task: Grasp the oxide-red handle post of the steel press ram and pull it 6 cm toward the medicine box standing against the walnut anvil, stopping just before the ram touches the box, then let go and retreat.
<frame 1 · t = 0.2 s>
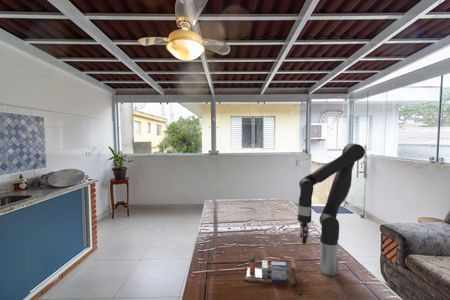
hand: (303, 240, 140), 17 cm above the table, tool pointing down, fingers open, 8 cm apart
medicine box: (278, 278, 133), on the table
press frame: (292, 278, 132), on the table
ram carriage: (257, 266, 135), point 5 cm above the table, slide at 0.0 cm
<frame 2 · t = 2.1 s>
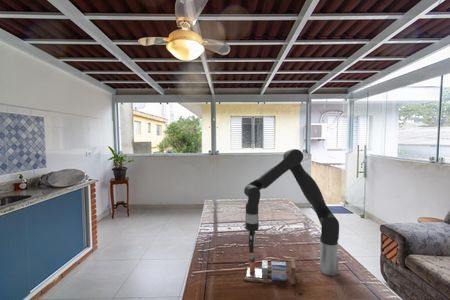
hand: (251, 249, 136), 15 cm above the table, tool pointing down, fingers open, 8 cm apart
nothing on the table moved.
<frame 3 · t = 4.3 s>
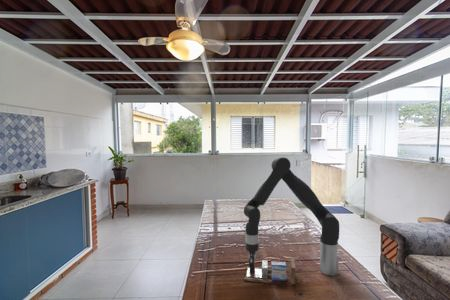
hand: (252, 270, 136), 2 cm above the table, tool pointing down, fingers closed on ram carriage, 3 cm apart
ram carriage: (257, 266, 135), point 5 cm above the table, slide at 0.0 cm, touching gripper
everything else where it was.
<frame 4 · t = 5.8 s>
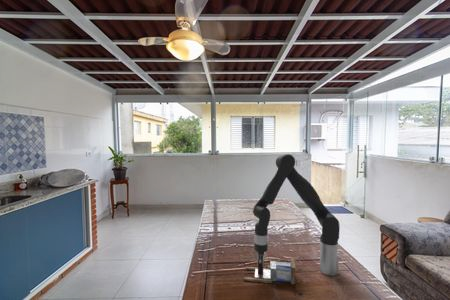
hand: (260, 271, 135), 2 cm above the table, tool pointing down, fingers closed on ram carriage, 3 cm apart
medicine box: (283, 279, 132), on the table, touching press frame, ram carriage
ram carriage: (265, 267, 135), point 5 cm above the table, slide at 4.6 cm, touching gripper, medicine box
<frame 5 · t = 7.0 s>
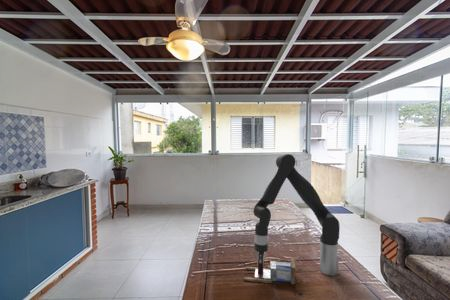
hand: (260, 271, 135), 2 cm above the table, tool pointing down, fingers closed on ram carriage, 3 cm apart
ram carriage: (265, 267, 135), point 5 cm above the table, slide at 4.6 cm, touching gripper, medicine box
everything else where it was.
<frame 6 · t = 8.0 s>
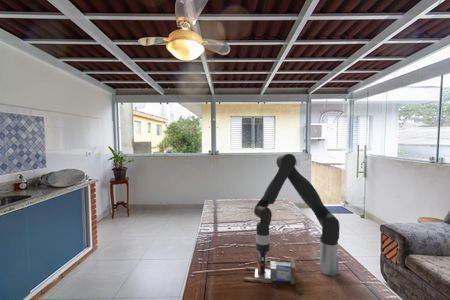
hand: (263, 269, 135), 4 cm above the table, tool pointing down, fingers open, 8 cm apart
medicine box: (283, 279, 132), on the table, touching press frame
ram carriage: (265, 267, 135), point 5 cm above the table, slide at 4.6 cm
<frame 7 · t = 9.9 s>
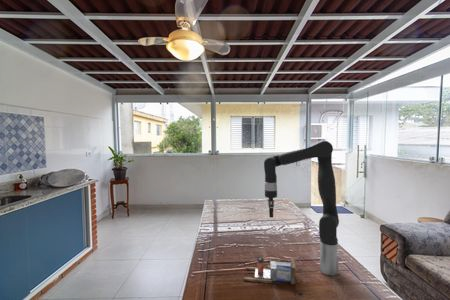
hand: (271, 215, 150), 29 cm above the table, tool pointing down, fingers open, 8 cm apart
medicine box: (283, 279, 132), on the table, touching press frame, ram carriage
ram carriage: (265, 267, 135), point 5 cm above the table, slide at 4.6 cm, touching medicine box
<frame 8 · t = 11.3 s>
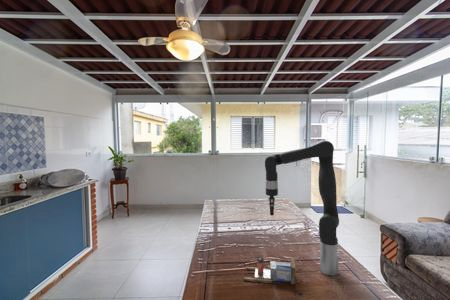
hand: (271, 212, 151), 30 cm above the table, tool pointing down, fingers open, 8 cm apart
nothing on the table moved.
at the end: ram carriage slide at 4.6 cm; medicine box moved 2.5 cm from its start; medicine box tilted 0° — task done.
